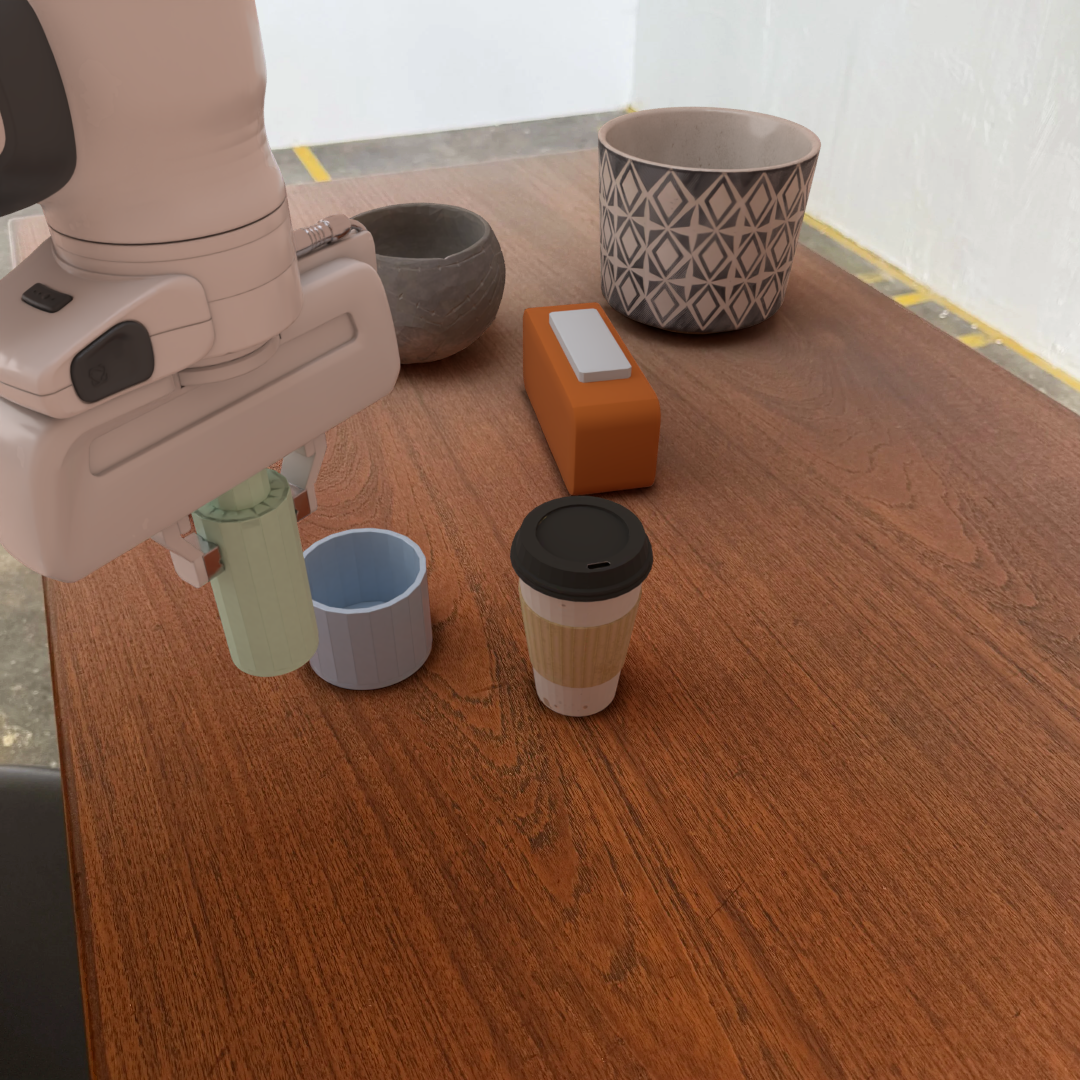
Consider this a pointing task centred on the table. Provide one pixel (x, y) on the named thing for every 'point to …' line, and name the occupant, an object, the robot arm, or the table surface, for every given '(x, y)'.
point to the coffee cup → (579, 597)
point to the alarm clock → (590, 399)
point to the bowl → (436, 276)
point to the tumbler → (369, 607)
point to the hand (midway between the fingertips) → (250, 544)
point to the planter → (701, 214)
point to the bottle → (261, 576)
